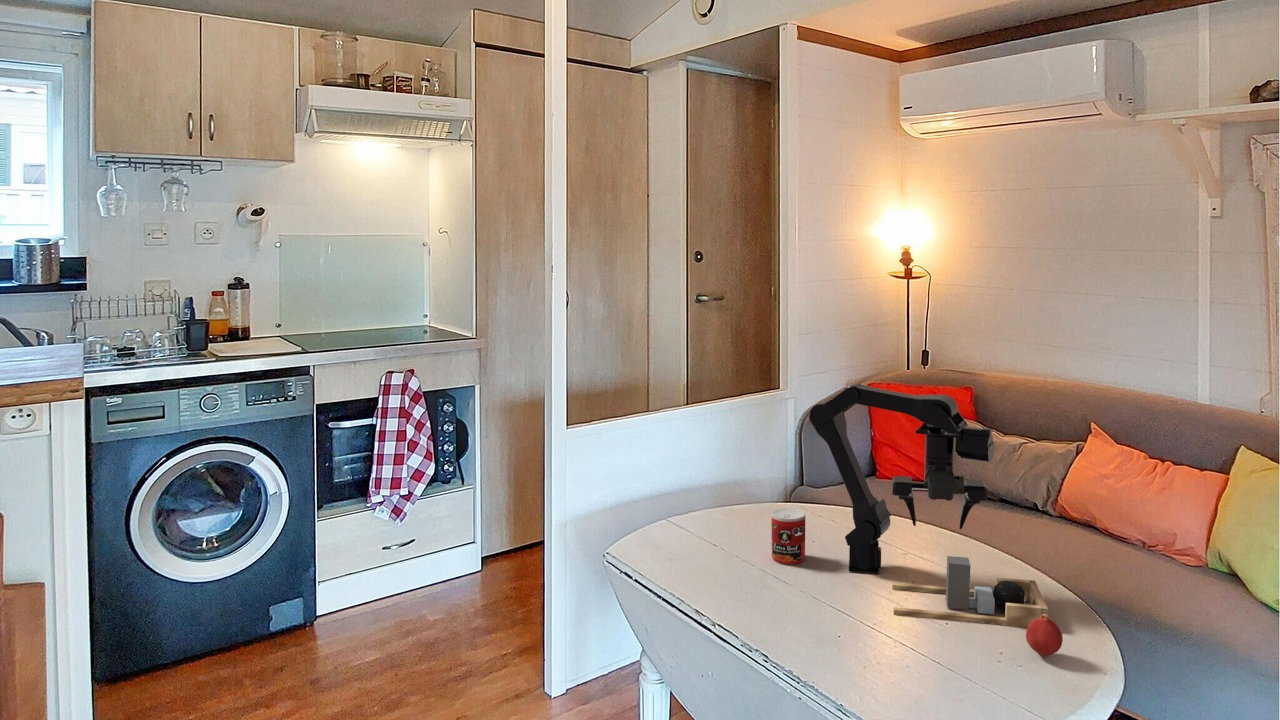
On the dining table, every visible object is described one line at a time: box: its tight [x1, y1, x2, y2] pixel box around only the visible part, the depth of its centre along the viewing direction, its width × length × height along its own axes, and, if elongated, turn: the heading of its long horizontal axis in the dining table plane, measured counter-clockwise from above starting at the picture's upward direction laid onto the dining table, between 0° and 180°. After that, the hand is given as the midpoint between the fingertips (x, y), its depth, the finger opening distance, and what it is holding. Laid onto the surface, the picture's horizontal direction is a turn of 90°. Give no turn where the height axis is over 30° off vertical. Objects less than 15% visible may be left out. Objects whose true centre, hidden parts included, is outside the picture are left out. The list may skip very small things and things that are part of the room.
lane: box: [891, 582, 1007, 626], centre depth 167 cm, size 20×13×1 cm, turn 74°
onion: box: [1025, 614, 1064, 658], centre depth 145 cm, size 6×6×8 cm
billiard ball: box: [992, 581, 1026, 612], centre depth 164 cm, size 6×6×6 cm
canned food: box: [771, 507, 806, 566], centre depth 193 cm, size 8×8×11 cm
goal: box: [996, 577, 1049, 628], centre depth 163 cm, size 7×13×4 cm, turn 164°
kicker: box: [945, 555, 996, 615], centre depth 165 cm, size 8×6×9 cm
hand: (937, 527), depth 176 cm, fingers open, 9 cm apart
